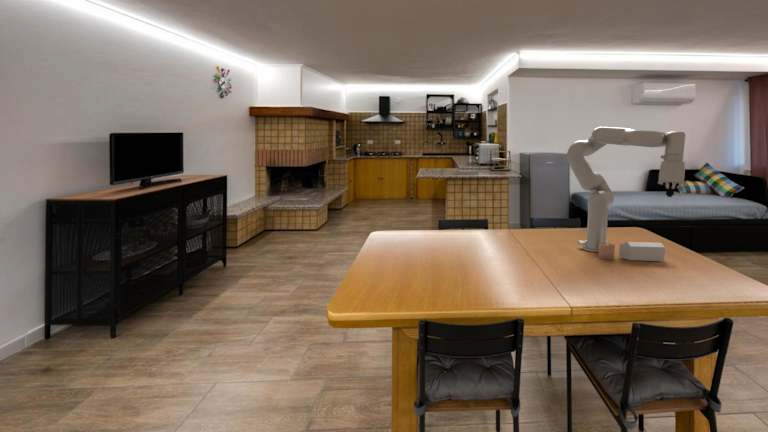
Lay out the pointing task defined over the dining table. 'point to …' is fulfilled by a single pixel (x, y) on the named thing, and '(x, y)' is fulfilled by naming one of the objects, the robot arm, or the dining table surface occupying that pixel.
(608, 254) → the tan block
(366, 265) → the dining table surface
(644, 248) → the milk carton
